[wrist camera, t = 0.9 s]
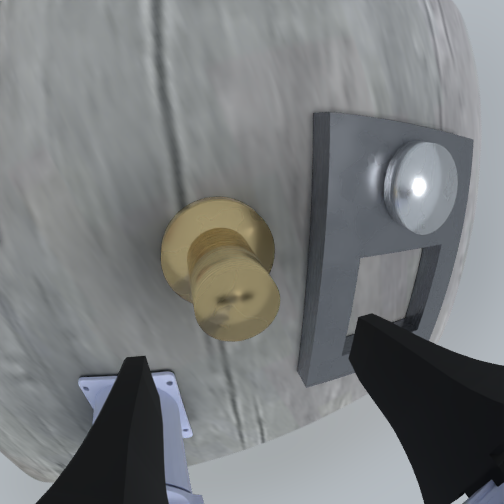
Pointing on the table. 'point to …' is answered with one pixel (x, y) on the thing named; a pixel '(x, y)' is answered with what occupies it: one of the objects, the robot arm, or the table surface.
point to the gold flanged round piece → (222, 267)
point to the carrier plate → (377, 224)
